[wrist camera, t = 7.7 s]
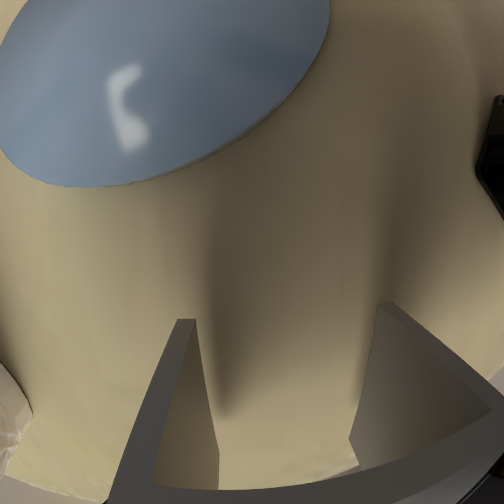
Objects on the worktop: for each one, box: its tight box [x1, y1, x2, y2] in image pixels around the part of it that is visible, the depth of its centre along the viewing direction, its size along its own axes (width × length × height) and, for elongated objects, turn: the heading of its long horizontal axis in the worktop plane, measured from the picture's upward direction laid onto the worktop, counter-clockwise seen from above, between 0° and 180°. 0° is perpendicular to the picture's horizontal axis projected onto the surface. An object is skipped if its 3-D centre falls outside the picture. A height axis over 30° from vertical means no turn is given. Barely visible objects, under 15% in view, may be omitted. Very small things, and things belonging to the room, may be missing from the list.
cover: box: [106, 302, 504, 504], centre depth 6 cm, size 7×7×7 cm
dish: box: [0, 0, 330, 187], centre depth 7 cm, size 16×16×1 cm
